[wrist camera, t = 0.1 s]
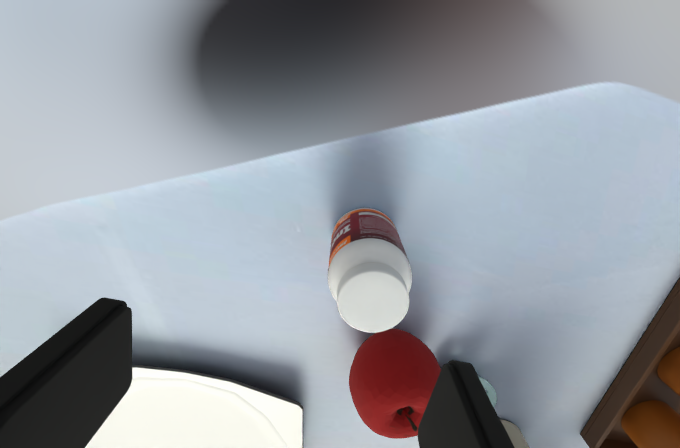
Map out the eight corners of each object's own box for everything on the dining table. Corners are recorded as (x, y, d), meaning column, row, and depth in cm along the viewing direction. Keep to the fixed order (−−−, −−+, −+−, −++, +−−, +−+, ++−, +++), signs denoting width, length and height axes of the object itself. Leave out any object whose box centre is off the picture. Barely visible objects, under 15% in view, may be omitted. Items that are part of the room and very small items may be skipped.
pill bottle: (337, 200, 30) (334, 250, 20) (403, 211, 30) (433, 267, 20) (326, 260, 32) (318, 334, 22) (388, 270, 33) (409, 348, 22)
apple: (341, 320, 35) (340, 401, 25) (427, 307, 34) (459, 385, 24) (355, 387, 38) (359, 481, 28) (435, 376, 37) (466, 469, 28)
